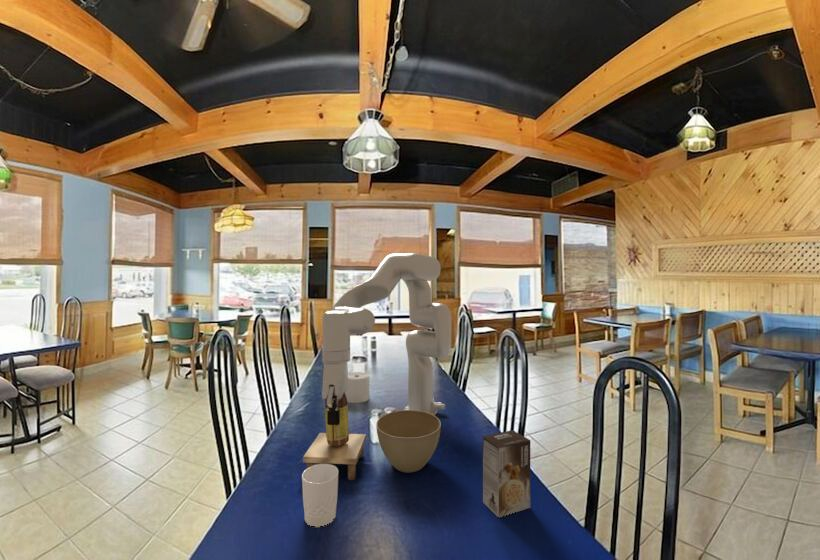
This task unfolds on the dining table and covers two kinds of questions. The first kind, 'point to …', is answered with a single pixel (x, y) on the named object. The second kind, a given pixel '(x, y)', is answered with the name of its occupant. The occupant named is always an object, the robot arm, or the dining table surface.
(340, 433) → the sauce bottle
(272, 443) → the dining table surface
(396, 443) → the tan bowl
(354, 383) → the toilet tissue
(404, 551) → the dining table surface
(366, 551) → the dining table surface
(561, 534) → the dining table surface
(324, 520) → the white cup
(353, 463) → the footstool
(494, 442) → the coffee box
